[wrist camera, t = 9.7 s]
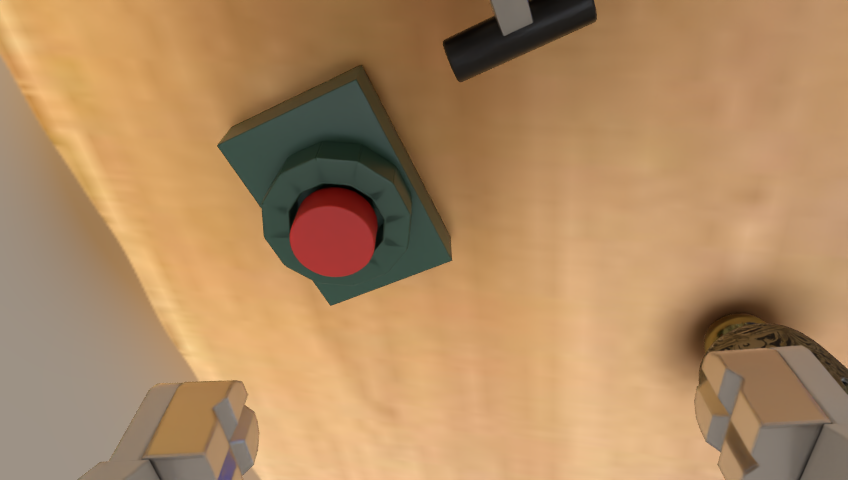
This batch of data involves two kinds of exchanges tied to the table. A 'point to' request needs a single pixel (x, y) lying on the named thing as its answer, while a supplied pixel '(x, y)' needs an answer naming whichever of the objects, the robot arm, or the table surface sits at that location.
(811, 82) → the table surface
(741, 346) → the cup
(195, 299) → the table surface
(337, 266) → the button
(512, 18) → the lever
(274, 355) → the table surface
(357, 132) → the button block
